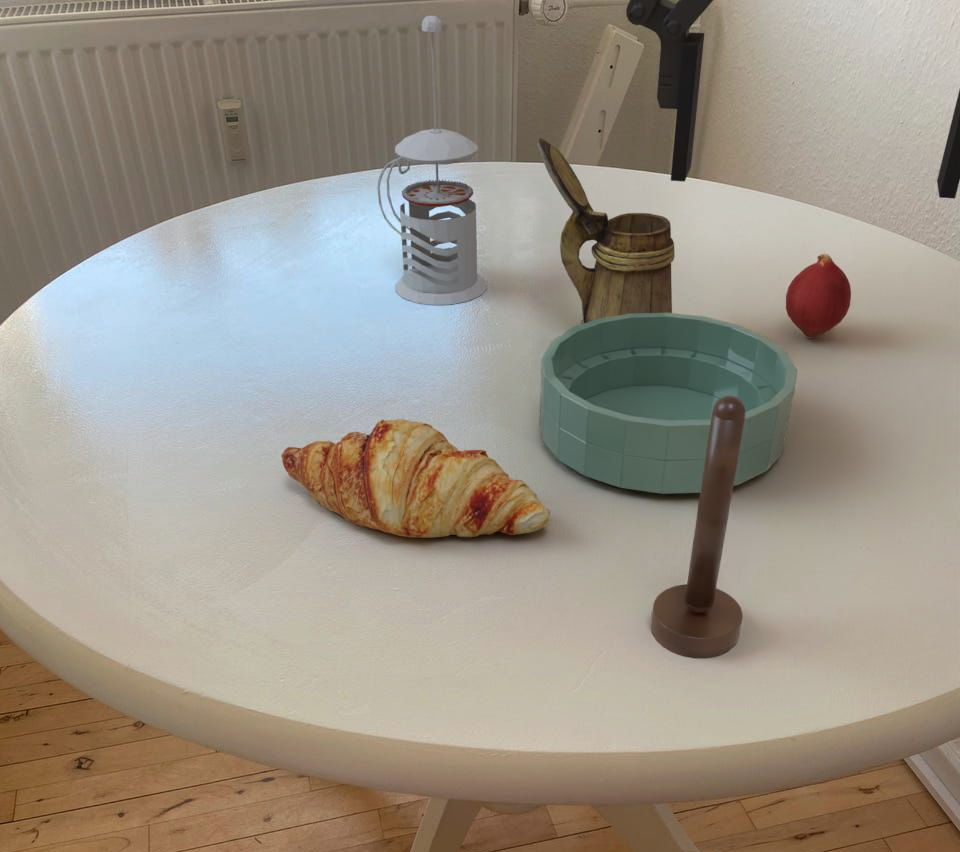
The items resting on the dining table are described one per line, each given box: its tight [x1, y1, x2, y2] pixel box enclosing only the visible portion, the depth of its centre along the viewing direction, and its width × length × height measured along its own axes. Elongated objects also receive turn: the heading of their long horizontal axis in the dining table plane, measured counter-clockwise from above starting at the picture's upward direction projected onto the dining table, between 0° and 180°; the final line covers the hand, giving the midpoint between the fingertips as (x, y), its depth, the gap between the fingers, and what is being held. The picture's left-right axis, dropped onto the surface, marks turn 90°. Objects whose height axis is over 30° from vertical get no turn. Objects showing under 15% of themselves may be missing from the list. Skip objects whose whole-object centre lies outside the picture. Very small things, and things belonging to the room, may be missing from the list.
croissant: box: [281, 418, 550, 539], centre depth 77 cm, size 21×10×8 cm, turn 71°
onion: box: [785, 253, 852, 339], centre depth 99 cm, size 6×6×8 cm
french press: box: [376, 15, 488, 306], centre depth 104 cm, size 10×12×25 cm
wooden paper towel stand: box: [650, 396, 746, 659], centre depth 63 cm, size 6×6×16 cm
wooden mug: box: [537, 137, 675, 325], centre depth 95 cm, size 9×14×18 cm, turn 82°
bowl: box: [539, 312, 798, 495], centre depth 85 cm, size 20×20×6 cm
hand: (809, 182), depth 56 cm, fingers open, 13 cm apart
